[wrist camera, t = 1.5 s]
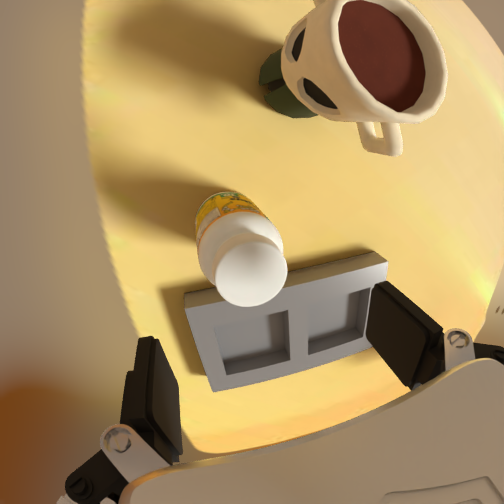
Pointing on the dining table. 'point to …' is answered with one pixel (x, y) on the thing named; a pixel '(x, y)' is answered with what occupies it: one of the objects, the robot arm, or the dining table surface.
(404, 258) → the dining table surface
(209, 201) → the supplement bottle
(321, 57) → the character mug
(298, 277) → the drink carrier
